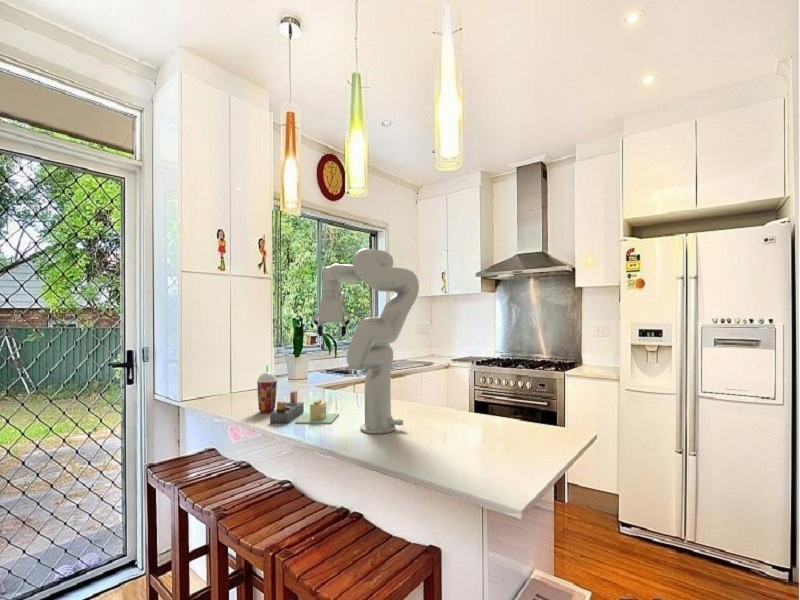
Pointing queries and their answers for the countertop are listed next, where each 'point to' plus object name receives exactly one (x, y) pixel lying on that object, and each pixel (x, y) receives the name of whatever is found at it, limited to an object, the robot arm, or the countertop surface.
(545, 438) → the countertop surface
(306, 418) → the rubber mat
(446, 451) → the countertop surface
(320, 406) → the lever cap
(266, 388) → the smoothie
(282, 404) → the hand plane
